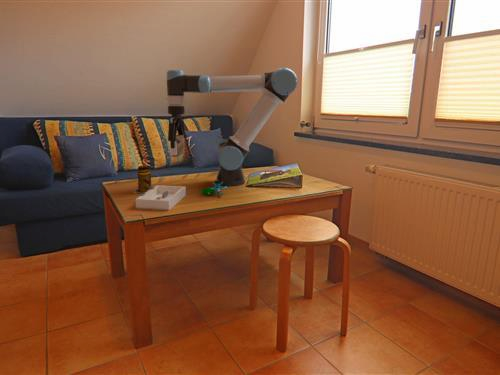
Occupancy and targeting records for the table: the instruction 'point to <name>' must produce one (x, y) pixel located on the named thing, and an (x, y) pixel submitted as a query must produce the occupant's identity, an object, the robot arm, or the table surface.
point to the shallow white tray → (160, 197)
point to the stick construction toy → (213, 189)
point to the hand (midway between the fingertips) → (177, 153)
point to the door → (179, 145)
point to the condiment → (143, 179)
